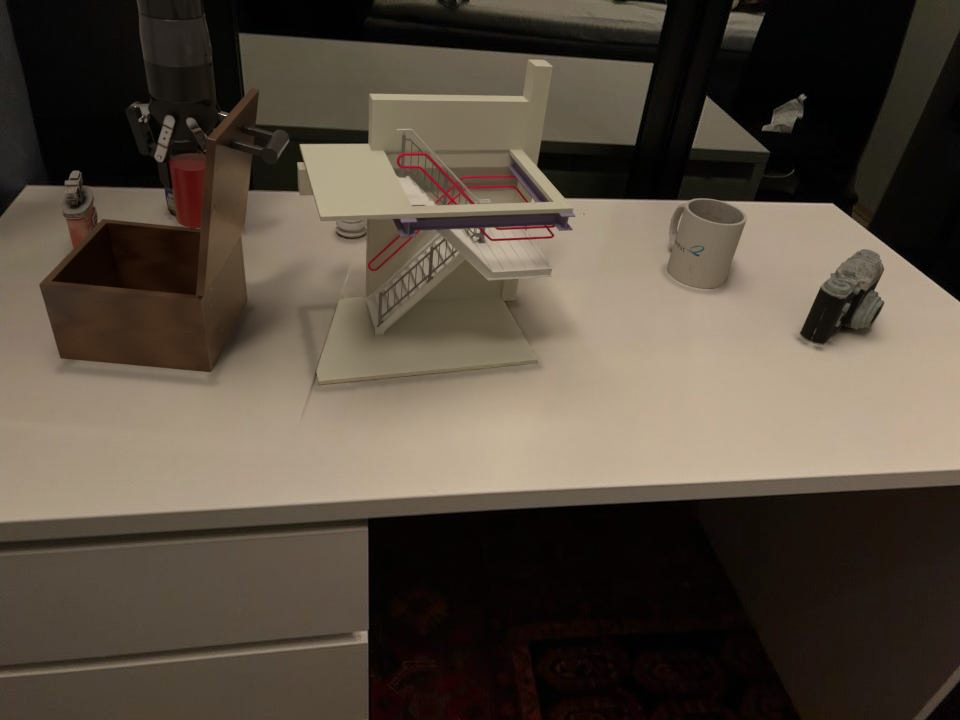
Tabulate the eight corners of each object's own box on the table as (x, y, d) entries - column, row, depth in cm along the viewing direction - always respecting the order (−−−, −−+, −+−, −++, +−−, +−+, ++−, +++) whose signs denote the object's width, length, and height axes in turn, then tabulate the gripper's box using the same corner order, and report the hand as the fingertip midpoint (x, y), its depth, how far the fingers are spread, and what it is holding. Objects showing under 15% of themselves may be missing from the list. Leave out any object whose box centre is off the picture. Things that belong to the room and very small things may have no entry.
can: (170, 225, 96) (161, 167, 91) (185, 207, 101) (177, 150, 96) (213, 230, 96) (207, 172, 92) (226, 212, 101) (221, 156, 96)
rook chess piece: (350, 222, 111) (350, 171, 106) (372, 232, 109) (373, 181, 104) (329, 231, 108) (328, 180, 103) (351, 242, 106) (351, 190, 101)
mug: (735, 288, 107) (757, 225, 101) (680, 288, 105) (700, 225, 99) (699, 247, 117) (718, 188, 111) (649, 247, 115) (665, 187, 109)
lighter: (100, 266, 94) (84, 193, 88) (70, 268, 93) (52, 194, 87) (106, 237, 100) (91, 166, 94) (79, 238, 99) (62, 166, 93)
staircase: (321, 397, 78) (313, 114, 60) (302, 304, 92) (291, 51, 74) (559, 372, 86) (615, 116, 68) (509, 290, 100) (544, 60, 82)
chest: (61, 364, 78) (38, 284, 72) (118, 292, 90) (102, 218, 84) (211, 377, 79) (200, 299, 73) (248, 304, 90) (241, 232, 85)
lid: (206, 137, 63) (267, 154, 64) (251, 87, 75) (302, 101, 76) (195, 295, 72) (249, 307, 73) (237, 228, 84) (282, 239, 85)
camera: (844, 358, 95) (877, 292, 89) (794, 335, 98) (823, 269, 92) (881, 318, 104) (913, 256, 98) (835, 298, 108) (863, 237, 102)
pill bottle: (217, 214, 108) (209, 141, 102) (174, 221, 105) (163, 146, 99) (203, 197, 112) (194, 126, 106) (162, 204, 109) (150, 130, 103)
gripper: (101, 55, 83) (128, 195, 93) (230, 70, 83) (243, 207, 93) (128, 39, 89) (150, 172, 99) (248, 52, 89) (258, 183, 99)
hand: (195, 188), depth 96 cm, fingers closed on can, 5 cm apart
